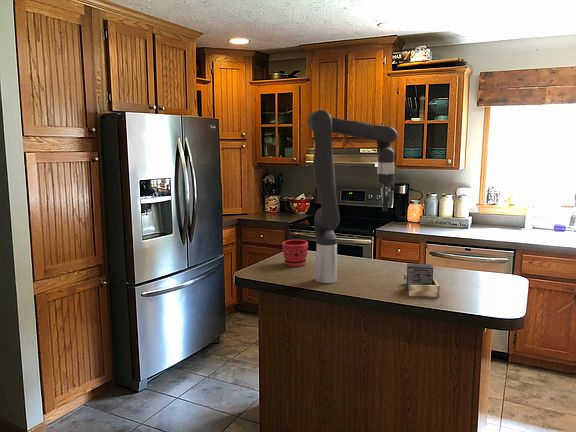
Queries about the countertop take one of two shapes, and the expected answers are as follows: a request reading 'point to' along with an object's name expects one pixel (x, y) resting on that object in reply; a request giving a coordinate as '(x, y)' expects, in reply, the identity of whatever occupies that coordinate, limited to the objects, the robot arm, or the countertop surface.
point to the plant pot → (295, 252)
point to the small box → (419, 274)
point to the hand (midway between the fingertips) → (384, 210)
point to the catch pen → (423, 289)
